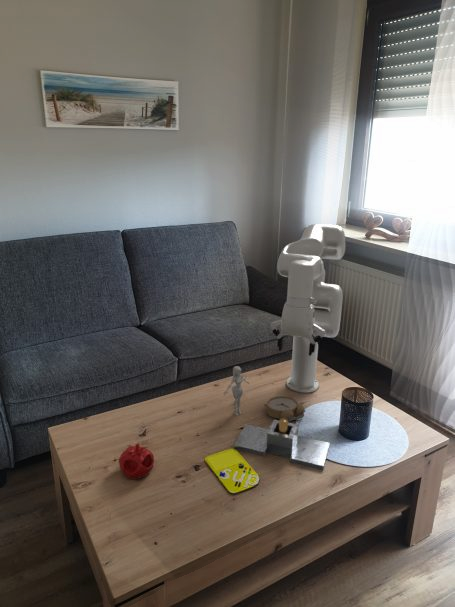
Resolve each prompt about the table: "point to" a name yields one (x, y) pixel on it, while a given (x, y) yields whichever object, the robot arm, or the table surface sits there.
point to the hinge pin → (283, 426)
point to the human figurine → (236, 387)
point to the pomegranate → (136, 461)
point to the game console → (232, 471)
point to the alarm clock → (284, 408)
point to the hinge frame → (283, 444)
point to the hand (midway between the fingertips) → (295, 351)
